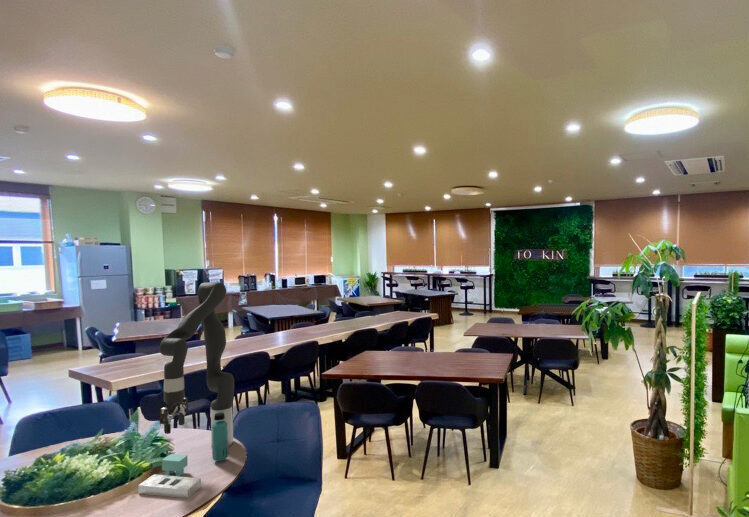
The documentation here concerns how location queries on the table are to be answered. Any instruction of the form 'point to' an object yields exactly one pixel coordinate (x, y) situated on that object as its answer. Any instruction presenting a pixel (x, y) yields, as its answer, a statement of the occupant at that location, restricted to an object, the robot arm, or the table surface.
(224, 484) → the table surface
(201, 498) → the table surface
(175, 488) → the pale grey flat slab
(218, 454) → the beverage bottle
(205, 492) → the table surface
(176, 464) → the clip
